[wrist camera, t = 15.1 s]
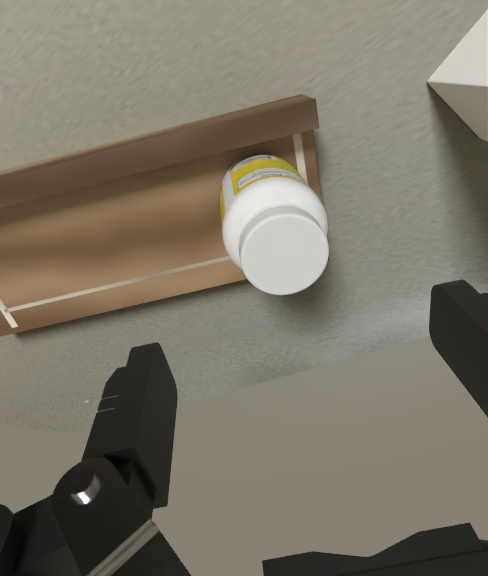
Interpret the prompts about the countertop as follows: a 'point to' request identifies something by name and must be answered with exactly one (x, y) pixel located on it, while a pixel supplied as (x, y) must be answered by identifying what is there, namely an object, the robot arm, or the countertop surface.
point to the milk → (467, 78)
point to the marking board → (134, 215)
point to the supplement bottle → (273, 224)
